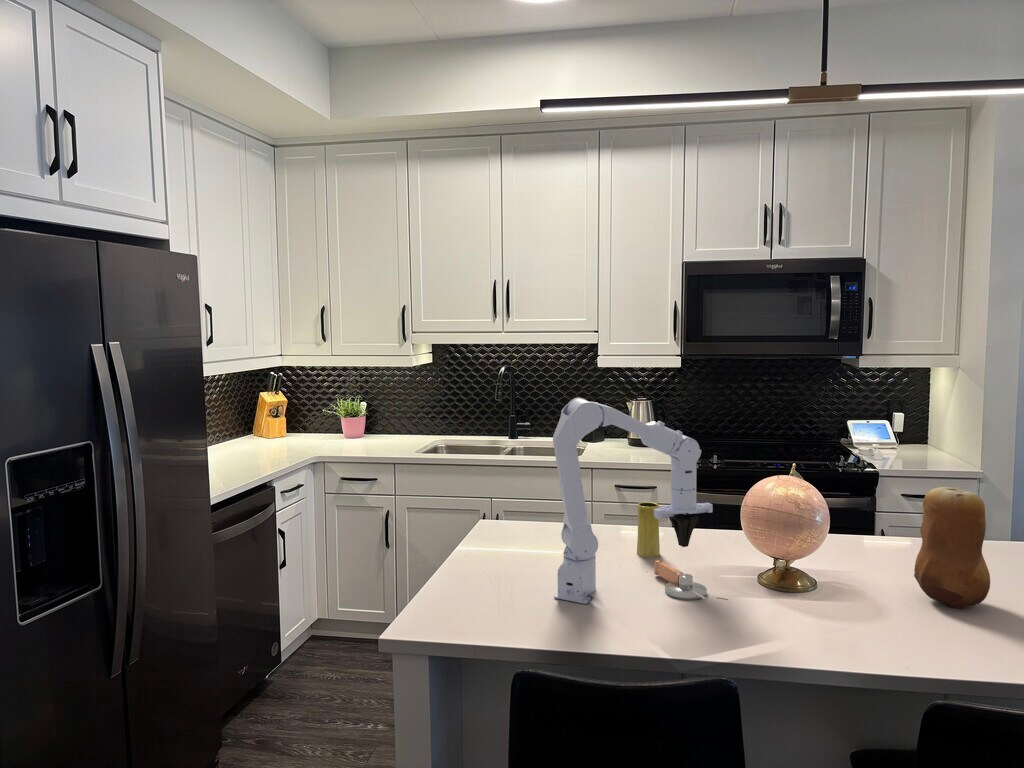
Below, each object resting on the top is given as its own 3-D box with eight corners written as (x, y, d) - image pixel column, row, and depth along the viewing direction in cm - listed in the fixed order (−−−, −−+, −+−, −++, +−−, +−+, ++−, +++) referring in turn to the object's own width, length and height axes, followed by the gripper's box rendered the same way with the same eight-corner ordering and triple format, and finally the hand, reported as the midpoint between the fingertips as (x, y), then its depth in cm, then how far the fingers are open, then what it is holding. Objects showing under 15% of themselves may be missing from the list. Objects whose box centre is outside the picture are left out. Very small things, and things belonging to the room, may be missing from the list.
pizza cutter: (722, 600, 157) (722, 583, 156) (686, 606, 154) (686, 589, 153) (672, 572, 174) (672, 557, 174) (639, 577, 171) (639, 562, 171)
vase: (633, 560, 187) (633, 506, 186) (640, 553, 193) (640, 500, 192) (656, 563, 185) (656, 508, 183) (663, 556, 190) (663, 502, 189)
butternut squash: (987, 599, 158) (992, 485, 156) (990, 621, 147) (995, 499, 145) (914, 588, 165) (917, 479, 163) (912, 608, 154) (915, 492, 152)
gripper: (665, 494, 161) (665, 554, 163) (720, 488, 166) (720, 546, 167) (649, 487, 168) (649, 545, 169) (702, 482, 173) (702, 538, 174)
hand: (683, 545), depth 169 cm, fingers closed
